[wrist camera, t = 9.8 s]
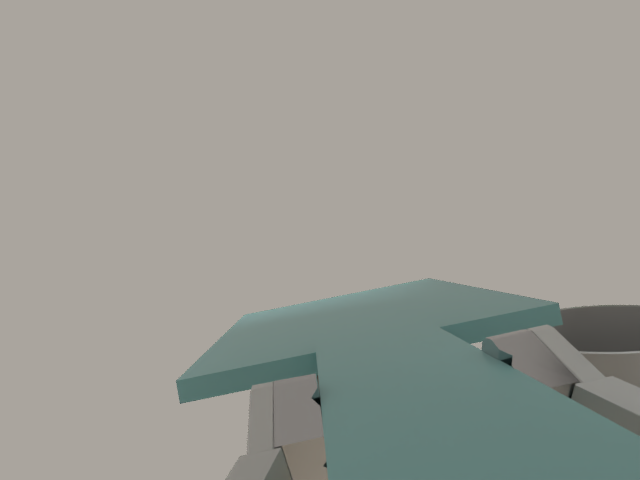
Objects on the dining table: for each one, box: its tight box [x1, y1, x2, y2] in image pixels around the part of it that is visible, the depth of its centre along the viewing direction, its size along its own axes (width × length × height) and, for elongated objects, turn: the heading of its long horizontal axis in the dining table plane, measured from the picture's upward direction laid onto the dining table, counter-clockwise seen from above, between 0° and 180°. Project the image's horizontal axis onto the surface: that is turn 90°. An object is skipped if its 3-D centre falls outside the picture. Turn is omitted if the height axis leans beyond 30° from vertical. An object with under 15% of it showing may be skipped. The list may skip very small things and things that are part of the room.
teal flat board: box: [176, 279, 640, 480], centre depth 15 cm, size 24×14×1 cm, turn 2°
